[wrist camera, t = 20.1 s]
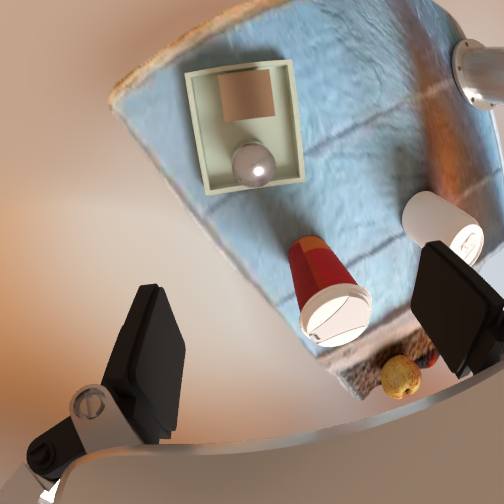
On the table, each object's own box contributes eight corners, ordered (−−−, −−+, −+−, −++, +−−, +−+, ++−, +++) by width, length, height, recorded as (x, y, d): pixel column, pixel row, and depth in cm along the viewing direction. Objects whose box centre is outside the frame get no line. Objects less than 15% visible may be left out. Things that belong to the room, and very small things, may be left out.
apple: (389, 376, 60) (404, 407, 51) (367, 370, 57) (381, 405, 48) (415, 351, 56) (433, 383, 48) (395, 344, 54) (413, 378, 45)
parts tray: (287, 62, 29) (291, 59, 26) (300, 176, 36) (305, 181, 34) (187, 75, 29) (184, 73, 27) (207, 190, 36) (206, 196, 34)
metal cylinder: (266, 137, 33) (273, 142, 27) (270, 172, 35) (278, 184, 30) (229, 142, 33) (228, 148, 27) (234, 177, 35) (235, 190, 30)
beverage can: (391, 214, 39) (436, 252, 29) (425, 179, 37) (477, 207, 26) (413, 246, 42) (454, 286, 32) (445, 213, 40) (490, 247, 29)
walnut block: (262, 75, 29) (269, 69, 24) (268, 114, 31) (275, 115, 26) (220, 81, 29) (217, 75, 24) (226, 120, 31) (224, 122, 26)
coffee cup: (298, 286, 44) (323, 360, 31) (269, 249, 41) (287, 321, 28) (344, 257, 42) (386, 323, 29) (319, 216, 39) (361, 276, 26)
